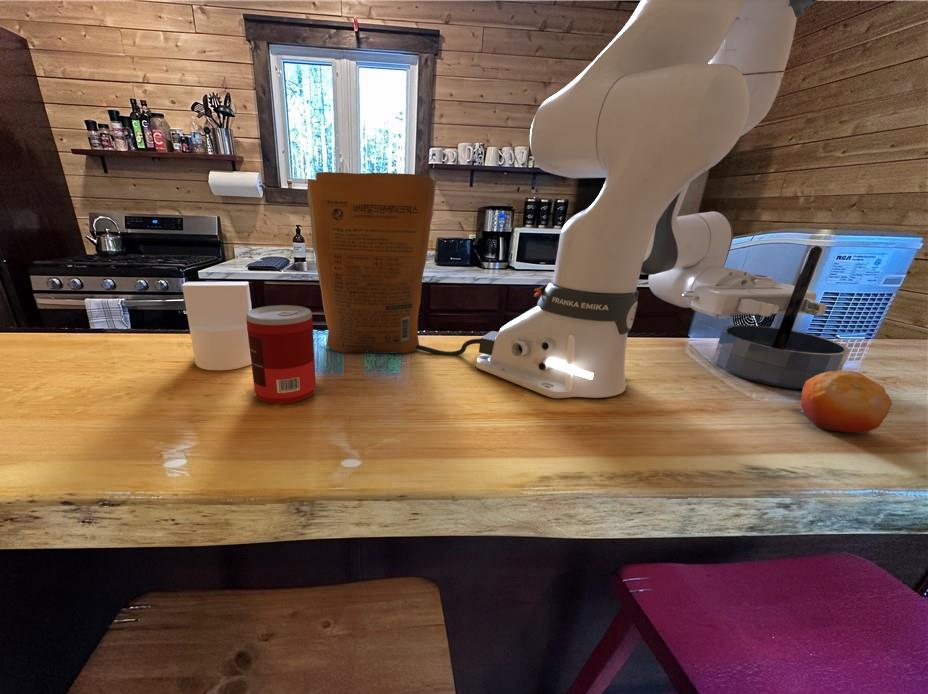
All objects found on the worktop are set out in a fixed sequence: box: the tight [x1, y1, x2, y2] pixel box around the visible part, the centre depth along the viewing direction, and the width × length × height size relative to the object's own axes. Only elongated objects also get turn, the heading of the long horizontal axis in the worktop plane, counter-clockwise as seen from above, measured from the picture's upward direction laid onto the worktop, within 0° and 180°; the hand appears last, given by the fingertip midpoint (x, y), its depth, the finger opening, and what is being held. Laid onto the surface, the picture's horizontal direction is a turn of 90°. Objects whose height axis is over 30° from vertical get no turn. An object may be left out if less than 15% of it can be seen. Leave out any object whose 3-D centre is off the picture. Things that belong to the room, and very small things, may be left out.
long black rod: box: [772, 245, 823, 349], centre depth 69 cm, size 5×5×20 cm
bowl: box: [712, 324, 850, 390], centre depth 72 cm, size 16×16×6 cm
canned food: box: [246, 304, 317, 405], centre depth 56 cm, size 8×8×11 cm
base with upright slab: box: [181, 281, 253, 371], centre depth 66 cm, size 9×9×12 cm
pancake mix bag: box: [306, 171, 437, 355], centre depth 70 cm, size 7×19×28 cm, turn 93°
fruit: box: [800, 370, 893, 434], centre depth 54 cm, size 8×8×8 cm
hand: (798, 310), depth 68 cm, fingers open, 8 cm apart
